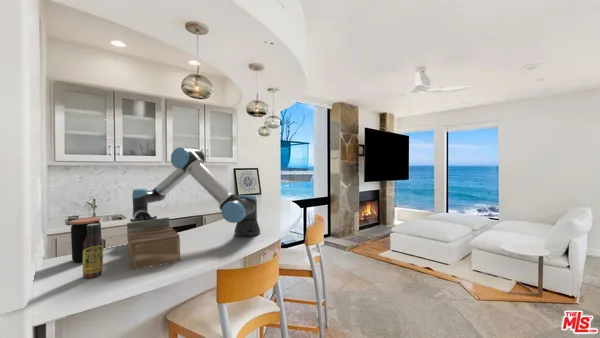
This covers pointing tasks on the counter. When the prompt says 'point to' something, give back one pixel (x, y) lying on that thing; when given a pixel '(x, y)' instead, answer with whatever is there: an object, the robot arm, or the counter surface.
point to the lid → (150, 231)
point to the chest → (154, 253)
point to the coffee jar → (81, 236)
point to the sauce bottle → (92, 252)
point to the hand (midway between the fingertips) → (147, 225)
